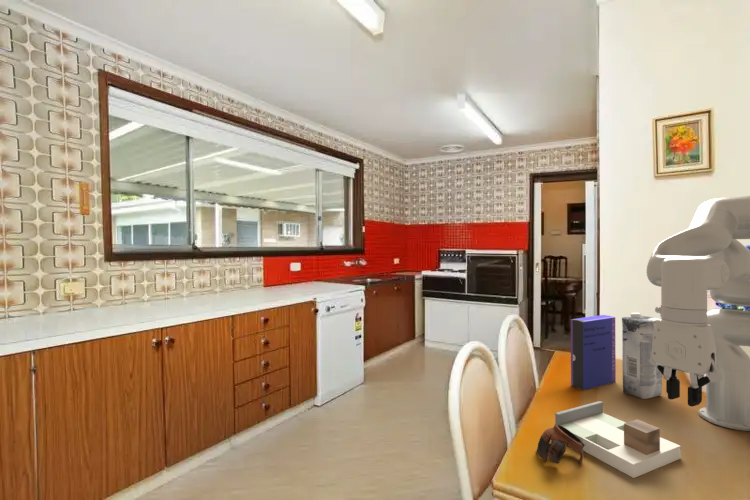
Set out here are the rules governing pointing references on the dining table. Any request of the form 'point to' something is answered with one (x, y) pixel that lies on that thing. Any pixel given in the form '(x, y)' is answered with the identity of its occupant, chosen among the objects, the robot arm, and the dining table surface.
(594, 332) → the blue rectangular box
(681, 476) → the dining table surface
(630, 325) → the juice carton
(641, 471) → the tray
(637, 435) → the block
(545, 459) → the brown curved piece
